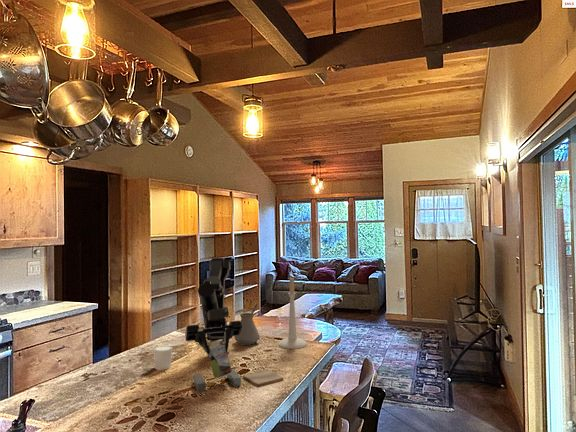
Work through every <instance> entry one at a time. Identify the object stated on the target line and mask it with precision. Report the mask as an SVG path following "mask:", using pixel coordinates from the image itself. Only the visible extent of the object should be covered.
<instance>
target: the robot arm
mask: <svg viewBox="0 0 576 432" xmlns="http://www.w3.org/2000/svg"><path fill="white" fill-rule="evenodd" d="M208 267H209V274H208V277H207V278H206V279H204V280H203V283H202V284H201V285H199V286H198V288H197V294H198V297H199V298H198V299H199V302H200V305H201V310H202V311H201V312H202V317H203V323H204V324H203V325H204V326H199V325H200V324H198V323H197V324H189V325H187V326H186V328H185V333H184V337H185V341H186V342H190V341H194V342H195V343H197V344H198V345H200V346H201V347H202V349H203V350H204V352H205V353H206V355H207V356H209V348H208V341H209V342H212V341H215V340H219V339H223V341H224V342H225V345H226V352H227V353H228V354H230V351H228V349H229V344H230V339H232V338H233V337H234V336H237V335H239V334H240V332H241V329H242V323H241V322H240V321H241V320H240V319H239V320H238V319H237V320H230V321H227V319H226V318H228V317H229V315H230V313H229V308H228V306H225V288H226V287H225V284H226V282H225V281H226V279H227V278H228V276H229V275H230V274H229V273H230V271H231V262H230V260H228V259H225V258H223V257H213V258H211V260H209V266H208ZM228 322H229V323H228Z"/></svg>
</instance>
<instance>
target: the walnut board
mask: <svg viewBox="0 0 576 432" xmlns="http://www.w3.org/2000/svg"><path fill="white" fill-rule="evenodd" d="M242 378H243V379H244V380H246V381H248V382H249V383H251V384H253V385H254V386H256V387H263V386H266V385H269V384H274V383H276V382H277V383H278V382H281V381H284V377H283V376H281V375H280V374H277V373H276V372H273V371H272V370H270V369H263V370H260V371H255V372H252V373H247V374H244V375H242Z"/></svg>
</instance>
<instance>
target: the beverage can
mask: <svg viewBox="0 0 576 432" xmlns="http://www.w3.org/2000/svg"><path fill="white" fill-rule="evenodd" d="M207 344H208V348H209V355H208V358H209V362H210V366H211V370H212V375H213V377H214V378H216V379H222V378H226V377H227V376H228V375H229V374H230V372H231V371H232V370H231V369H232V368H231V367H232V365H231V363H230V358H229V355H228V354H229V353H227V352H226V345H225V342H224V341H223V339H219V340H215V341H212V342H210V341H209V342H207Z"/></svg>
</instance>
